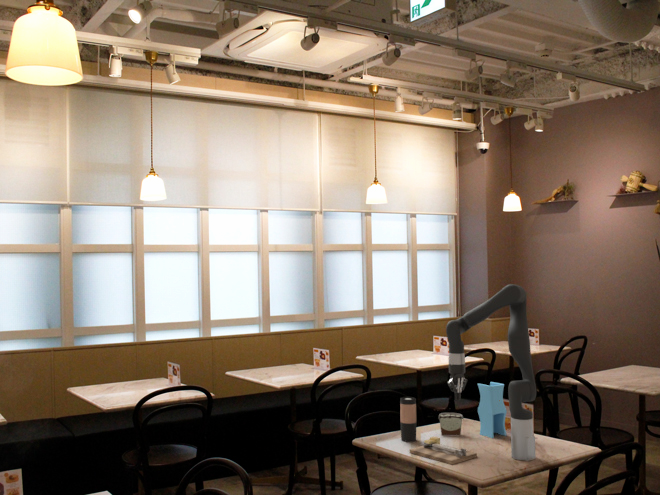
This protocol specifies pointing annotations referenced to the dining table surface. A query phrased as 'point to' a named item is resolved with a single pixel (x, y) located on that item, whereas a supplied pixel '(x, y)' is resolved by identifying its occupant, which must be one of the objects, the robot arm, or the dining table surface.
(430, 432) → the dining table surface
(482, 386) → the light blue flared block
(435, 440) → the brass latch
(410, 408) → the travel mug
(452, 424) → the food container
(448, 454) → the wooden board with rail
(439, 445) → the tongs upper arm
